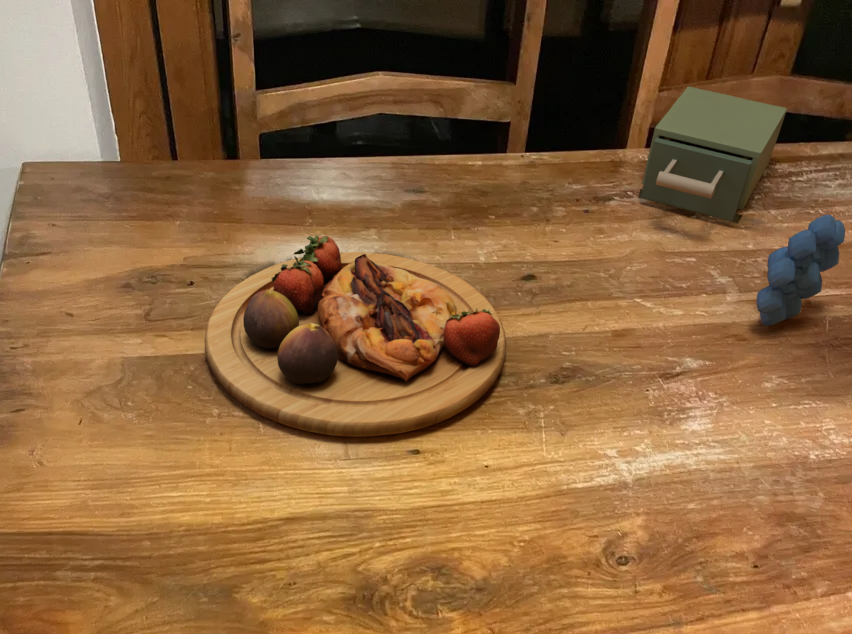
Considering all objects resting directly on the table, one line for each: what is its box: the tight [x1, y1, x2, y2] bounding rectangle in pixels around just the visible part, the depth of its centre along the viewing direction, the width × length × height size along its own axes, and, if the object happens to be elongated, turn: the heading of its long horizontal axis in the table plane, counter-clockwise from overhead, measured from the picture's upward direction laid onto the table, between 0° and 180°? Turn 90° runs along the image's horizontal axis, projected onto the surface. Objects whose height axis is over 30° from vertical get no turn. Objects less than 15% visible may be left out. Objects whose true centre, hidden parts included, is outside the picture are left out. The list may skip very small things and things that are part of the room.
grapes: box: [755, 214, 846, 327], centre depth 103 cm, size 12×7×12 cm, turn 127°
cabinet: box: [638, 86, 788, 224], centre depth 125 cm, size 16×14×9 cm
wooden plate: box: [204, 234, 507, 437], centre depth 98 cm, size 32×32×8 cm
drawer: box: [641, 137, 753, 222], centre depth 122 cm, size 21×12×7 cm, turn 153°
